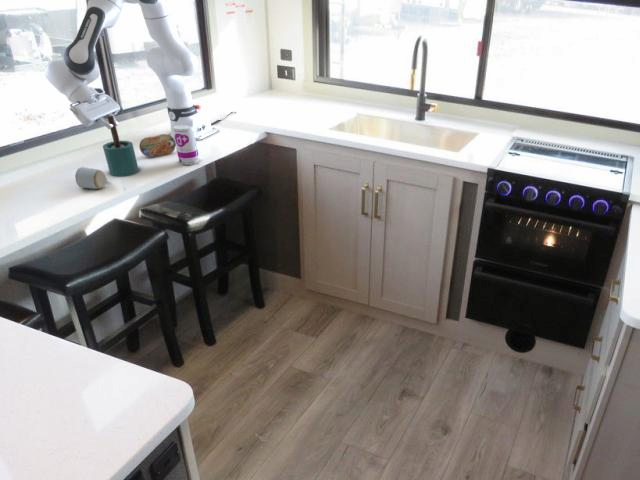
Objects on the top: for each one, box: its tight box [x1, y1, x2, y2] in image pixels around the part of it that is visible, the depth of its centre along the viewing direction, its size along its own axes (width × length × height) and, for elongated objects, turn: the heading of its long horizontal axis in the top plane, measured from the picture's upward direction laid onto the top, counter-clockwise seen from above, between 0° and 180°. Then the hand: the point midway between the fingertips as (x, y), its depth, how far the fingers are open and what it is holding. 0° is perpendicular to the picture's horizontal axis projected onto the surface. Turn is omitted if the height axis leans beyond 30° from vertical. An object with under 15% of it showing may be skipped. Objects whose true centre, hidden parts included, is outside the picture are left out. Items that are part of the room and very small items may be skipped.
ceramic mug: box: [75, 166, 109, 190], centre depth 218 cm, size 11×8×8 cm
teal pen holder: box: [102, 140, 139, 177], centre depth 231 cm, size 11×11×11 cm
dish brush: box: [106, 115, 125, 148], centre depth 226 cm, size 5×5×16 cm
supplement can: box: [173, 124, 200, 166], centre depth 240 cm, size 8×8×15 cm
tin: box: [138, 133, 176, 159], centre depth 249 cm, size 15×3×8 cm, turn 131°
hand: (114, 126), depth 224 cm, fingers closed on dish brush, 2 cm apart
